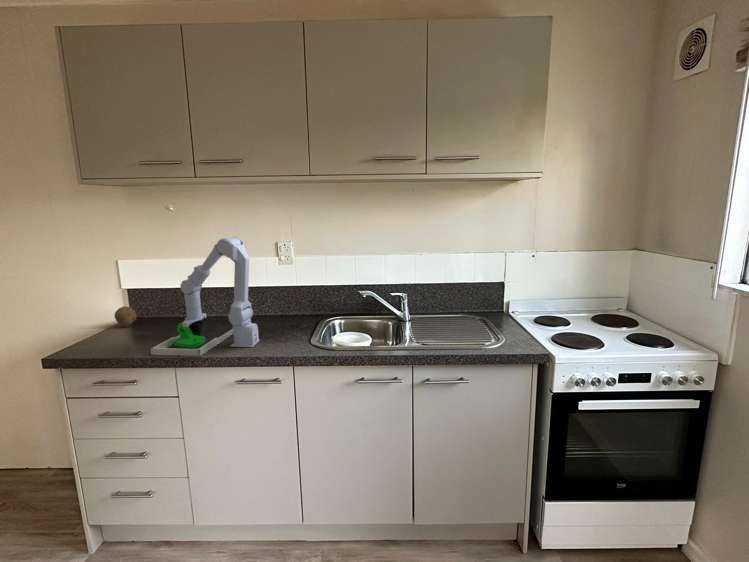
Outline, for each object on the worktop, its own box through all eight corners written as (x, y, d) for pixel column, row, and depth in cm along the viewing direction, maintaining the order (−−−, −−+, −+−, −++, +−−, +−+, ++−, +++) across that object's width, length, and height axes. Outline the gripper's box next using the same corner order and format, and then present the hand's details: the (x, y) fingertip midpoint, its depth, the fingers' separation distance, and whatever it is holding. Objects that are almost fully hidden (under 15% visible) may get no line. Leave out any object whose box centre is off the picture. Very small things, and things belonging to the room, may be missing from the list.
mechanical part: (174, 345, 166) (167, 329, 162) (185, 337, 171) (178, 321, 167) (195, 349, 161) (188, 333, 157) (206, 340, 166) (199, 324, 162)
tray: (218, 343, 167) (218, 337, 167) (200, 356, 154) (199, 349, 153) (173, 342, 170) (172, 337, 169) (151, 354, 156) (150, 348, 156)
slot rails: (240, 329, 187) (239, 325, 187) (218, 343, 167) (218, 339, 167) (199, 328, 189) (198, 324, 189) (173, 342, 170) (172, 338, 170)
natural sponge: (128, 323, 201) (125, 304, 199) (142, 324, 199) (139, 304, 197) (112, 328, 192) (109, 308, 191) (126, 329, 190) (123, 309, 188)
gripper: (194, 303, 174) (197, 333, 177) (174, 311, 160) (177, 344, 163) (209, 303, 174) (212, 333, 176) (190, 312, 159) (194, 344, 162)
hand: (196, 338), depth 169 cm, fingers closed
